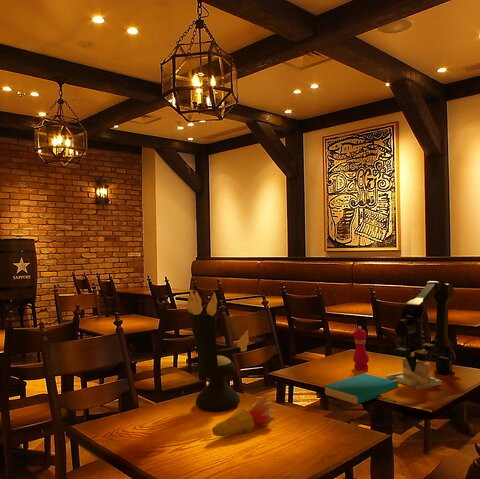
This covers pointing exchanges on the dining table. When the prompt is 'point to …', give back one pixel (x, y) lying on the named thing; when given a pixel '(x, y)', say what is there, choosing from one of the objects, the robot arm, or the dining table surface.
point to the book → (359, 388)
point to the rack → (419, 386)
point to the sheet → (417, 371)
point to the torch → (245, 419)
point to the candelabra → (213, 357)
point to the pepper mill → (360, 350)
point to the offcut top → (406, 380)
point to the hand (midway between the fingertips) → (416, 371)
